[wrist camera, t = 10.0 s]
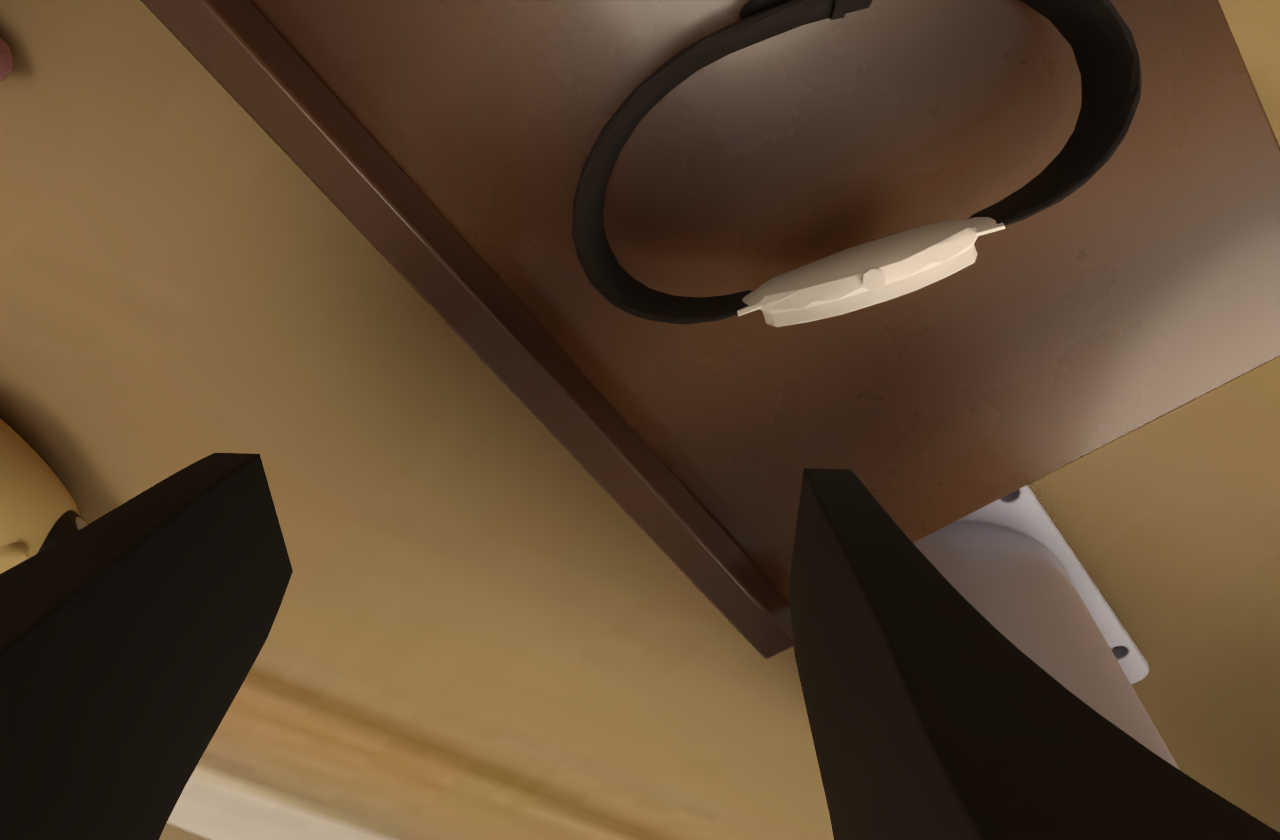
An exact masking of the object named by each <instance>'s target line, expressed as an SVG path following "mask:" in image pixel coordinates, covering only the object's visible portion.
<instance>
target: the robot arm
mask: <svg viewBox="0 0 1280 840" xmlns="http://www.w3.org/2000/svg"><path fill="white" fill-rule="evenodd" d="M291 574H292V567H291V563H290V560H289V556H288V553H287V549H286V546H285V542H284V539H283V535H282V532H281V528H280V525H279V521H278V518H277V514H276V511H275V507H274V503H273V500H272V496H271V493H270V489H269V486H268V482H267V479H266V475H265V472H264V468H263V465H262V461H261V458H260V454H239V453H213V454H211V455H209V456H207V457H205V458H203V459H201V460H199V461H197V462H195V463H193V464H191V465H190V466H188V467H186V468H184V469H182V470H180V471H179V472H177V473H175V474H173V475H172V476H170V477H168V478H166V479H165V480H163V481H161V482H160V483H158V484H156V485H154V486H153V487H151V488H149V489H148V490H146V491H144V492H143V493H141V494H139V495H137V496H136V497H134V498H132V499H131V500H129V501H127V502H126V503H124V504H122V505H121V506H119V507H117V508H116V509H114V510H112V511H110V512H109V513H107V514H105V515H104V516H102V517H100V518H99V519H97V520H95V521H94V522H92V523H90V524H88V525H87V526H85V527H83V528H82V529H80V530H78V531H77V532H75V533H73V534H71V535H70V536H68V537H66V538H65V539H63V540H61V541H59V542H58V543H56V544H54V545H52V546H50V547H49V548H47V549H45V550H43V551H41V552H39V553H38V554H36V555H34V556H32V557H30V558H29V559H27V560H25V561H23V562H21V563H19V564H18V565H16V566H14V567H12V568H10V569H9V570H7V571H5V572H3V573H1V574H0V840H159V838H160V836H161V833H162V831H163V829H164V826H165V824H166V822H167V820H168V818H169V816H170V814H171V812H172V810H173V808H174V806H175V804H176V803H177V801H178V799H179V797H180V795H181V793H182V791H183V789H184V787H185V785H186V783H187V782H188V780H189V778H190V776H191V774H192V773H193V771H194V769H195V767H196V765H197V764H198V762H199V760H200V758H201V757H202V755H203V753H204V751H205V749H206V748H207V746H208V744H209V742H210V741H211V739H212V737H213V735H214V733H215V732H216V730H217V728H218V726H219V724H220V723H221V721H222V719H223V717H224V716H225V714H226V712H227V710H228V708H229V707H230V705H231V703H232V701H233V700H234V698H235V696H236V694H237V692H238V691H239V689H240V687H241V685H242V683H243V682H244V680H245V678H246V676H247V674H248V672H249V671H250V669H251V667H252V665H253V663H254V661H255V660H256V658H257V656H258V654H259V652H260V650H261V648H262V647H263V645H264V643H265V641H266V639H267V637H268V635H269V632H270V630H271V627H272V625H273V622H274V620H275V617H276V615H277V612H278V610H279V607H280V605H281V602H282V599H283V596H284V594H285V591H286V588H287V585H288V583H289V580H290V577H291ZM788 587H789V598H790V610H791V621H792V631H793V641H794V651H795V658H796V663H797V667H798V672H799V677H800V681H801V686H802V691H803V695H804V700H805V705H806V709H807V714H808V718H809V723H810V727H811V732H812V736H813V741H814V745H815V750H816V754H817V759H818V763H819V768H820V772H821V777H822V782H823V786H824V791H825V795H826V800H827V804H828V809H829V813H830V819H831V824H832V830H833V836H834V840H1280V833H1279V832H1277V831H1276V830H1274V829H1272V828H1271V827H1269V826H1267V825H1266V824H1264V823H1262V822H1261V821H1259V820H1258V819H1256V818H1254V817H1253V816H1251V815H1250V814H1248V813H1246V812H1245V811H1243V810H1242V809H1240V808H1238V807H1237V806H1235V805H1234V804H1232V803H1230V802H1229V801H1227V800H1225V799H1224V798H1222V797H1221V796H1219V795H1217V794H1216V793H1214V792H1213V791H1211V790H1209V789H1208V788H1206V787H1205V786H1203V785H1201V784H1200V783H1198V782H1197V781H1195V780H1194V779H1192V778H1191V777H1189V776H1188V775H1186V774H1185V773H1183V772H1182V771H1180V769H1179V767H1178V766H1177V764H1176V762H1175V760H1174V759H1173V757H1172V755H1171V753H1170V752H1169V750H1168V748H1167V746H1166V745H1165V743H1164V741H1163V739H1162V738H1161V736H1160V734H1159V732H1158V731H1157V729H1156V727H1155V725H1154V724H1153V722H1152V720H1151V719H1150V717H1149V715H1148V713H1147V712H1146V710H1145V708H1144V706H1143V705H1142V703H1141V701H1140V699H1139V698H1138V696H1137V694H1136V692H1135V691H1134V689H1133V687H1132V685H1131V684H1133V683H1136V682H1138V681H1140V680H1142V679H1144V678H1145V677H1146V676H1147V675H1148V673H1149V670H1150V668H1149V665H1148V663H1147V661H1146V660H1145V658H1144V656H1143V655H1142V653H1141V652H1140V650H1139V649H1138V648H1137V646H1136V645H1135V643H1134V642H1133V640H1132V639H1131V637H1130V636H1129V634H1128V633H1127V631H1126V630H1125V628H1124V627H1123V625H1122V624H1121V622H1120V621H1119V619H1118V618H1117V616H1116V615H1115V613H1114V612H1113V610H1112V609H1111V607H1110V606H1109V604H1108V603H1107V601H1106V600H1105V598H1104V597H1103V596H1102V594H1101V593H1100V591H1099V590H1098V588H1097V587H1096V585H1095V584H1094V582H1093V581H1092V579H1091V578H1090V576H1089V575H1088V573H1087V572H1086V570H1085V569H1084V567H1083V566H1082V564H1081V563H1080V561H1079V560H1078V558H1077V557H1076V555H1075V554H1074V552H1073V551H1072V549H1071V548H1070V546H1069V545H1068V544H1067V542H1066V541H1065V539H1064V538H1063V536H1062V535H1061V533H1060V532H1059V530H1058V529H1057V527H1056V526H1055V524H1054V523H1053V521H1052V520H1051V518H1050V517H1049V515H1048V514H1047V512H1046V511H1045V509H1044V508H1043V506H1042V505H1041V503H1040V502H1039V500H1038V499H1037V497H1036V496H1035V494H1034V493H1033V492H1032V490H1031V489H1030V487H1029V486H1028V485H1026V486H1024V487H1022V488H1020V489H1018V490H1016V491H1014V492H1012V493H1010V494H1008V495H1006V496H1004V497H1002V498H1000V499H998V500H996V501H995V502H993V503H991V504H989V505H987V506H985V507H983V508H981V509H979V510H977V511H975V512H973V513H971V514H969V515H967V516H965V517H963V518H961V519H959V520H957V521H955V522H953V523H951V524H949V525H947V526H945V527H944V528H942V529H940V530H938V531H936V532H934V533H932V534H930V535H928V536H926V537H924V538H922V539H920V540H918V541H916V542H914V543H913V542H912V541H911V540H910V539H909V538H908V536H907V535H906V534H905V533H904V532H903V531H902V529H901V528H900V527H899V526H898V525H897V524H896V522H895V521H894V520H893V519H892V518H891V516H890V515H889V514H888V513H887V512H886V510H885V509H884V508H883V507H882V506H881V504H880V503H879V502H878V501H877V500H876V498H875V497H874V496H873V495H872V493H871V492H870V491H869V490H868V489H867V487H866V486H865V485H864V484H863V483H862V481H861V480H860V479H859V478H858V477H857V476H856V474H855V473H854V472H853V471H852V470H851V469H816V468H804V470H803V477H802V485H801V493H800V501H799V508H798V516H797V524H796V532H795V539H794V547H793V555H792V563H791V570H790V578H789V586H788ZM1117 646H1119V647H1118V648H1115V649H1113V648H1114V647H1117Z"/></svg>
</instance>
